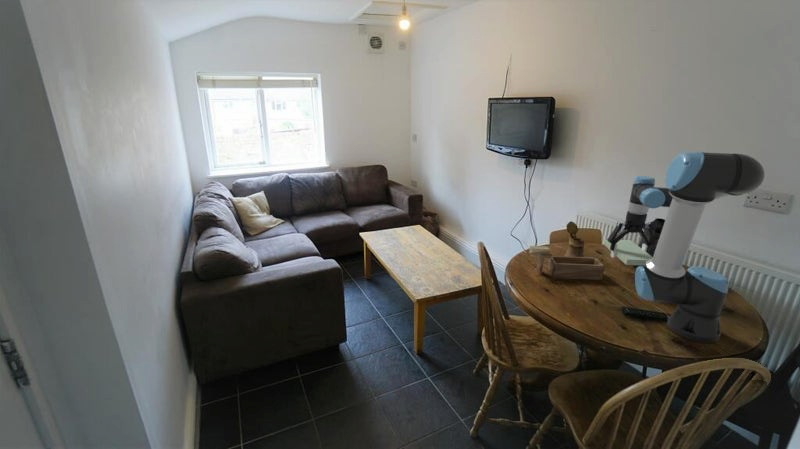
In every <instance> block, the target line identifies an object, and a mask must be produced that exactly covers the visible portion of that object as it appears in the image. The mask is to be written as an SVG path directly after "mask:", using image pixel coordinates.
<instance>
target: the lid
mask: <svg viewBox="0 0 800 449" xmlns="http://www.w3.org/2000/svg"><path fill="white" fill-rule="evenodd" d="M607 239H608V238H606V239H605V238H604V239H603V245H604V246H605V248H607V249H608V250H609V251H610V252H611V250H610V246H611V243H609V242H608V241H607ZM616 244H617V250H616V255H615V257H616V258H618V259H619V260H620V261H621V262H622V263H624V265H627V266H632V265H644V266H645V264H646V261H647V260H648V259H651V258H653V257H652V256H651V255H649V254H648V253H647V252H645V251H644V250H643V249H641V248H640V247H639V246H638V245H639V244H636V243H635V242H634V241H632V240H631V239H621V240H620V241H618V242H617V243H616Z"/></svg>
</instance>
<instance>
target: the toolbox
mask: <svg viewBox="0 0 800 449" xmlns="http://www.w3.org/2000/svg"><path fill="white" fill-rule="evenodd" d="M545 259H547V264H546V265H547V266H546V270H547V272H548V274H549V275H550V276H551V278H552V279H568V280H570V279H572V280H591V281H592V280H593V281H594V280H595V281H596V280H597V281H602V280H603V275H604V269H605V267H606V266H605V264H603V263H602V262H601V261H600V260H599V259H598V258H597V257H593V256H592V257H590V256H584V257H570V256H565V255H553V254H551V253H550V252H549V254H541V255H538V258H537V264H536V270H537V271H536V272H537V274H538V276H542V275H543V269H544V260H545Z"/></svg>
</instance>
